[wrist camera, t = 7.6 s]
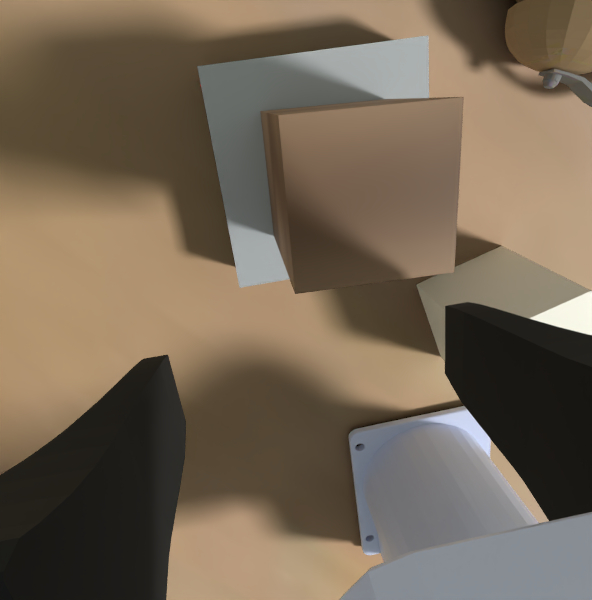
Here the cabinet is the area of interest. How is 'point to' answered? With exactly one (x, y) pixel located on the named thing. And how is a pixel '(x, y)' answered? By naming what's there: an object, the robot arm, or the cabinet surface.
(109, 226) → the cabinet surface
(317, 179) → the walnut block
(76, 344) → the cabinet surface
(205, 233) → the cabinet surface
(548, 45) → the alarm clock
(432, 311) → the cream block
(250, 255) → the grey stone block
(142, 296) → the cabinet surface
